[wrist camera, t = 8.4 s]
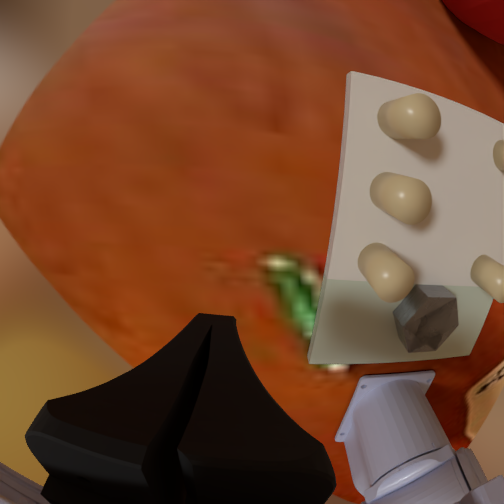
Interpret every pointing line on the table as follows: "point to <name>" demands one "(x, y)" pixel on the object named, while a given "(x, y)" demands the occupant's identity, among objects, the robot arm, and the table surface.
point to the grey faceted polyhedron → (426, 318)
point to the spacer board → (430, 164)
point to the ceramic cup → (481, 16)
